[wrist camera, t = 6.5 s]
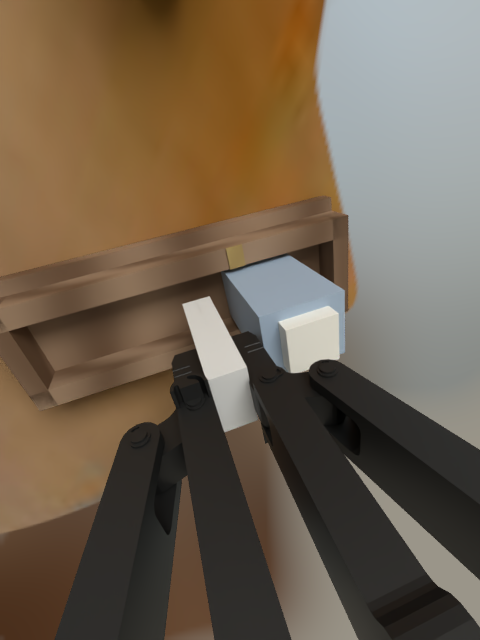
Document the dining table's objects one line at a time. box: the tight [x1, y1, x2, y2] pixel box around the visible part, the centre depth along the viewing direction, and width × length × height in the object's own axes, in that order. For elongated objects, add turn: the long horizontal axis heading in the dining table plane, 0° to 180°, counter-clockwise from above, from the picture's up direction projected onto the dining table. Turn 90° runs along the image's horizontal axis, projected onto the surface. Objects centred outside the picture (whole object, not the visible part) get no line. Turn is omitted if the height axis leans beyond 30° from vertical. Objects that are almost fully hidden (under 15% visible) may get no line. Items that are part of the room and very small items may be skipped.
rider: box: [221, 253, 345, 373], centre depth 17 cm, size 4×3×8 cm
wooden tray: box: [0, 196, 348, 411], centre depth 19 cm, size 20×8×3 cm, turn 101°
